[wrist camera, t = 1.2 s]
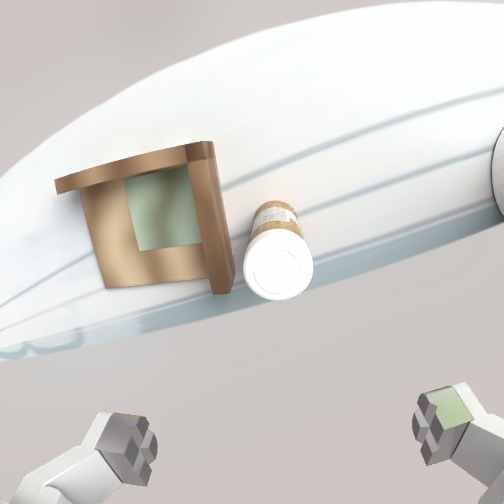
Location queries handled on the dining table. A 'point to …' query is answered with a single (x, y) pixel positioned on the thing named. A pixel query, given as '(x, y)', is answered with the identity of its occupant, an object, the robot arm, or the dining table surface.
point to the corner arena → (157, 217)
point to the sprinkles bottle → (277, 254)
